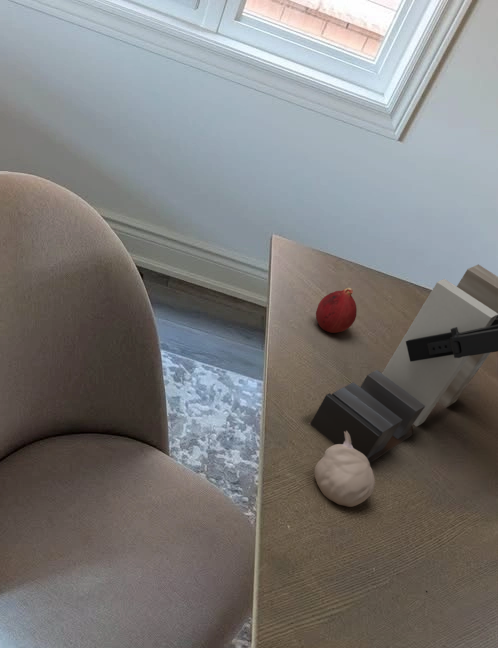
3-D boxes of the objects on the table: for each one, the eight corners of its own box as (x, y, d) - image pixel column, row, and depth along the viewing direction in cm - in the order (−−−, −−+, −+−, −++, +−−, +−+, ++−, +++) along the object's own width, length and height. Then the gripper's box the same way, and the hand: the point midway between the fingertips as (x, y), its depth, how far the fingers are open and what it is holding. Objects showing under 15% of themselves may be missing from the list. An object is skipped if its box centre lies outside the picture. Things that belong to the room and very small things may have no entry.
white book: (377, 388, 107) (444, 278, 94) (423, 422, 103) (498, 313, 91) (370, 392, 105) (437, 281, 93) (416, 427, 102) (491, 317, 90)
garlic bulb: (354, 481, 93) (384, 434, 87) (363, 520, 88) (396, 473, 83) (304, 471, 92) (331, 423, 86) (311, 510, 87) (340, 462, 82)
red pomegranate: (314, 342, 113) (337, 296, 107) (303, 319, 117) (324, 274, 111) (348, 346, 115) (373, 301, 109) (336, 323, 118) (359, 279, 113)
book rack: (404, 372, 113) (474, 261, 100) (455, 409, 110) (534, 299, 96) (304, 427, 98) (371, 304, 85) (359, 472, 94) (438, 351, 81)
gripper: (638, 261, 85) (443, 303, 103) (582, 293, 75) (377, 334, 93) (648, 325, 87) (454, 356, 105) (595, 365, 77) (391, 392, 95)
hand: (418, 346), depth 99 cm, fingers open, 4 cm apart
